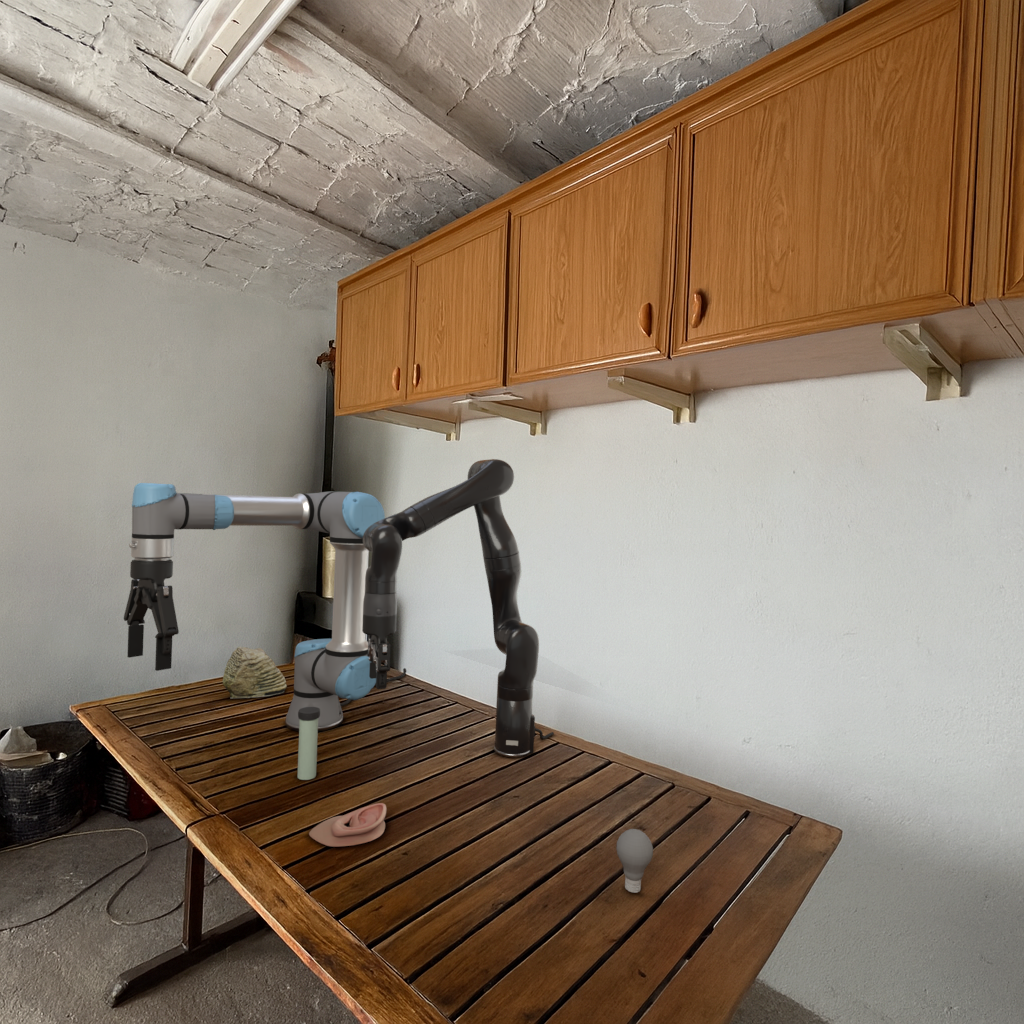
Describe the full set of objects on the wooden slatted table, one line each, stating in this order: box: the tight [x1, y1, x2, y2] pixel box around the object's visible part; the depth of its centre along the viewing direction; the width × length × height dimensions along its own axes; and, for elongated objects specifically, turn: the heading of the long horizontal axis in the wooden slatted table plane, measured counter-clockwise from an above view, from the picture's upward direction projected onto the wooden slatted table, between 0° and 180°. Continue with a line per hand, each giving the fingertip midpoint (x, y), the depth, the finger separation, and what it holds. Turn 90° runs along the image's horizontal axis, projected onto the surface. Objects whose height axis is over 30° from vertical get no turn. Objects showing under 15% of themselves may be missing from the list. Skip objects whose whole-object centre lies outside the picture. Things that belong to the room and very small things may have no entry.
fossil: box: [222, 646, 288, 699], centre depth 198 cm, size 9×18×15 cm, turn 132°
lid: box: [298, 707, 320, 720], centre depth 143 cm, size 5×5×2 cm
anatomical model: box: [308, 802, 387, 848], centre depth 120 cm, size 13×4×12 cm
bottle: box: [296, 718, 319, 781], centre depth 143 cm, size 4×4×15 cm
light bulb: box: [615, 828, 654, 894], centre depth 106 cm, size 6×6×10 cm
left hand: (148, 662), depth 129 cm, fingers open, 13 cm apart
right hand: (377, 683), depth 143 cm, fingers open, 8 cm apart
